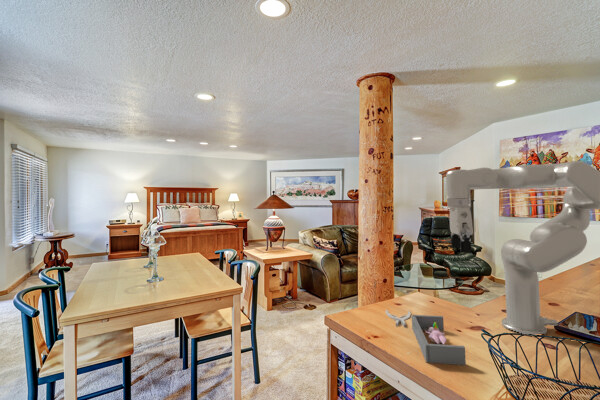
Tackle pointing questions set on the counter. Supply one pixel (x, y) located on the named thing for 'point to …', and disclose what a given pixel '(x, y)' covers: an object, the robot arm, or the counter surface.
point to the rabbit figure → (436, 334)
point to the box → (436, 351)
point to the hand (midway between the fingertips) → (460, 250)
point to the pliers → (399, 320)
